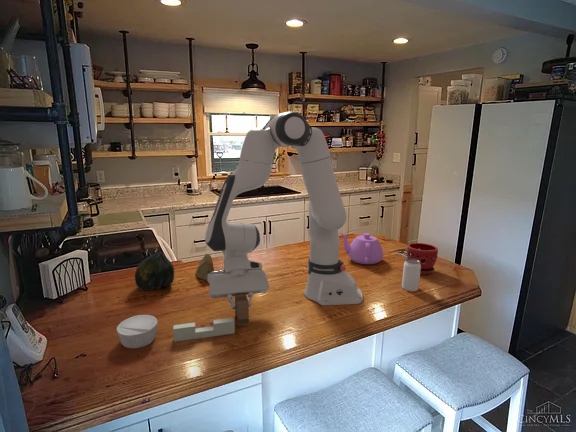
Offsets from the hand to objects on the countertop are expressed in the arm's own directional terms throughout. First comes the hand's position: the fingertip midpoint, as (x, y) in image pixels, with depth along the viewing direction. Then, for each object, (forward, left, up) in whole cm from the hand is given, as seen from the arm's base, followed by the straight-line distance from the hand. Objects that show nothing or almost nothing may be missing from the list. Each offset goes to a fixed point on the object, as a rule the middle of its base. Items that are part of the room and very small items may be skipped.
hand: (241, 307), depth 114 cm
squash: (+39, -22, -5) cm, 45 cm away
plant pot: (-74, -51, -5) cm, 89 cm away
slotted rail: (+9, +10, -4) cm, 15 cm away
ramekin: (+28, +14, -5) cm, 32 cm away
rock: (+22, -32, -5) cm, 39 cm away
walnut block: (0, 0, -4) cm, 4 cm away
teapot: (-48, -62, -5) cm, 78 cm away
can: (-64, -31, -5) cm, 71 cm away
